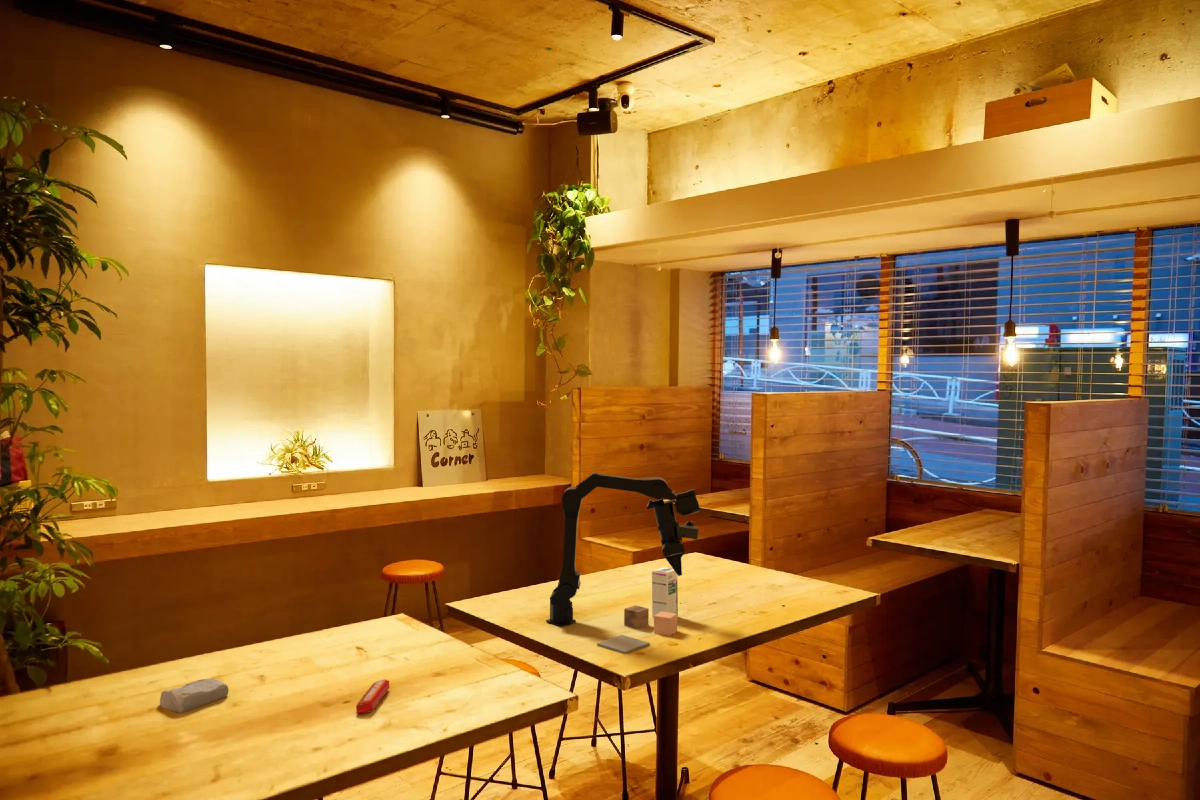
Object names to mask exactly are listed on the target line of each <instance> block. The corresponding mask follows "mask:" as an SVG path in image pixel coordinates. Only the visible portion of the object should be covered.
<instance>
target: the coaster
mask: <svg viewBox="0 0 1200 800" xmlns="http://www.w3.org/2000/svg"><path fill="white" fill-rule="evenodd" d="M596 646H598V647H602V648H605V649H607V650H611V651H613V652H618V653H621V654H623V655H626V654H629V653H632V652H635V651H637V650H640V649H642V648H646V647H648V646H650V642H648V641H645V640H641V639H638V638H635V637H631V636H628V635H624V634H620V635H617V636H614V637H612V638H611V637H610V638H608V639H606V640H603V641H599V642H597V643H596Z"/></svg>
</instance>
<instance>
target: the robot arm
mask: <svg viewBox="0 0 1200 800" xmlns="http://www.w3.org/2000/svg"><path fill="white" fill-rule="evenodd" d="M596 488H603V489H612V490H617V491H619V490H620V491H625V492H626V491H627V492H634V493H639V494H641V495H643V496H645V497H649V498H650V499H649V500H648V503H647V504H646V509H647V510H651V509H653V511H654V512H653V513H654V517H655V521H656V524H657V528H658V529H657V530H658V533H659V536H660V543H661V546H662V547H661V551H662V555H663V557H664V559H666V561H667V562H668V564H669V565H670V566H671V568H673V569H674V571H675V572H676V573H677V577H680V576H682V575H683V574H682V573H683V568H682V557H683V556H684V554H685V553H686V550H685V546H684V542H683V538H685V539H692V540H698V539H699V529H700V528H699V526H698V525H694V523H693V521H690V520H687V521H686V522H685V524H684V523H683V524H680V523H679V522H678V521H679V520H677V517H676V514H679V515H681V516H682V517H684V516H688V515H694V514H696V513H700V512H701V509H700V503H699V501H698V498H697V495H696V492H695V489H688V490H686V491H682V492H678V493H676V492H675V490H672V488H670V486H669V485H668V482H667V480H665V479H664V478H663V477H660V476H650V477H649V476H648V477H629V476H619V475H614V474H613V475H612V474H605V473H600V472H597V471H596V472H591V474H589V476H588V477H586V478H584V479H583V480H581V482H579V483H578V484H577V485H576V486H569V487H567V488H566V489H565V490H564V492H563V494H562V496H561V504H562V510H563V511H562V512H563V515H564V516H563V517H564V527H563V528H564V529H563V531H564V533H563V547H562V548H563V549H562V550H563V552H562V553H563V554H562V567H561V571H560V575H559V578H558V584H557V586H556V587H555V588H554V589H553V590H552V593H551V594H550V597H549V618H548V619H546V620H545V622H546V623H547V624H552V625H556V626H559V627H564V626H566V625H570V624H574V623H576V622H577V620H576V619H574V608H573V601H571V599H572V598H574V597H575V596H576V595H577V591H578V590H580V587H581V585H582V583H581V579H580V577H581V574H582V570H577V566H576V559H577V542H578V541H577V540H578V524H579V523H578V521H579V515H580V511H581V507H582V502H583V499H584V498H585V497H586V496H587V495H589V494H590V493H591V492H592V491H594V490H595V489H596ZM652 499H655V500H652ZM664 499H665V501H664ZM673 504H674V505H675V506H673ZM674 507H675V509H674ZM675 510H676V513H675Z"/></svg>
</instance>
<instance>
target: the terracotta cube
mask: <svg viewBox="0 0 1200 800" xmlns="http://www.w3.org/2000/svg"><path fill="white" fill-rule="evenodd" d="M676 632H678V616H677V614H676V613H669V612H662V611H661V612H659V613H658V614H656V615H654V618H653V634H657V635H663V636H664V635H665V636H672V635H673V634H675V633H676Z"/></svg>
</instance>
